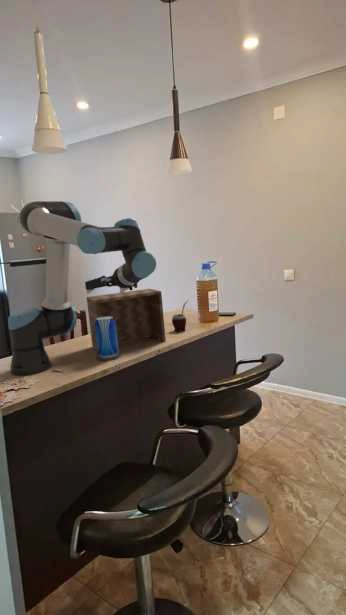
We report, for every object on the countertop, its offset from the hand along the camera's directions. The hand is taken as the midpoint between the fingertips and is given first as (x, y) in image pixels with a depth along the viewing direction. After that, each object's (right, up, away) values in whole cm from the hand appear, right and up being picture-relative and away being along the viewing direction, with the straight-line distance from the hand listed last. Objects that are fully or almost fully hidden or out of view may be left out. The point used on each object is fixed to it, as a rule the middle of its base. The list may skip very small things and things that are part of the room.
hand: (104, 289), depth 158 cm
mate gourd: (+30, -19, +50) cm, 61 cm away
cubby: (+6, -24, +31) cm, 39 cm away
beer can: (0, -27, +12) cm, 29 cm away
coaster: (0, -27, +12) cm, 30 cm away
